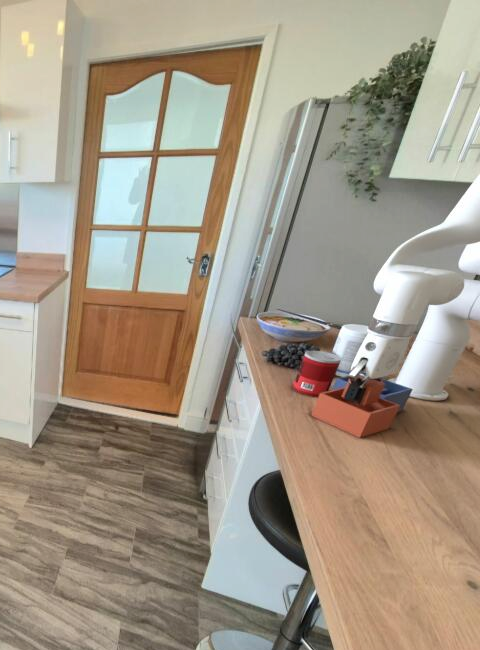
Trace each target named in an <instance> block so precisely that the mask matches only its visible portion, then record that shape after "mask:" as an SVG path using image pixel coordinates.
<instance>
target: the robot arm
mask: <svg viewBox="0 0 480 650" xmlns="http://www.w3.org/2000/svg"><path fill="white" fill-rule="evenodd" d="M464 246H465V247H464ZM458 247H464V249H463V252H462V253H461V255H460V257H459V260H458V265H457V266H458V268H459V270H460V271H461V272H464V273H467V274H472V275H478V276H480V173H479V174H478V175H477V177H476V178H475V179H473V182H472V183H471V184H470V186H469V187H468V188H467V190H466V191H465V192H464V194H463V195H462V197H461V198H460V199H459V200H458V202H457V203H456V204H455V206H454V208H452V210H451V211H450V213H449V214H448V215H447V216H446V218H445V220H444V221H443V222H442V223H440V224H438V225H435V226H433V227H431V228H428V229H426V230H424V231H422V232H420V233H418V234H416V235H415V236H413V237H411V238H409V239H407V240H406V241H405V242H403V243H402V244H400V245H399V246H398V247H397V248H396V249H395V250H394V251H393V252H392V253H391V254H390V256H389V257H388V259H386V261H385V263H384V264H383V265H382V267H381V268H380V269H379V271H378V272H377V274H376V276H375V279H374V281H373V291H375V293H377V294H378V295H380V298H379V301H378V303H377V305H376V307H375V310H374V313H373V314H372V317H371V320H370V322H369V325H368V326H369V327H368V329H367V331H368V332H369V333H368V334H367V336H366V338H365V339H364V341H363V343H362V345H361V347H360V349H359V351H358V353H357V355H356V357H355V359H354V361H353V364H352V367H351V373H350V374H349V378H350V382H349V387H348V389H347V391H346V393H345V396H344V398H345V399H347V400H350V401H352V402H355V403H360V401H361V399H362V397H363V395H364V393H365V390H366V388H364V387H365V386H366V384H367V383H368V381H369V380H370V379H373V380H376V381H379V382H382V383H383V382H384V380H386V377H388V376H391V375H395V374H396V373H398V371H399V373H398V375H397V376H396V377H392V378H389V379H387V380H388V381H390V382H393V383H396V384H399V385H402V386H405V387H408V388H411V389H413V390H412V392H411V394H410V396H409V398H410V397H411V398H414V399H419V400H425V401H434V402H435V401H436V402H438V401H445V400H447V398H448V396H449V392H448V391H447V390H446V389H444V387H445V386H446V384H447V382H448V381H450V376H451V375H452V373H453V371H454V369H455V367H456V365H457V363H458V361H459V360H460V358H461V356H462V354H463V353H464V350H465V349H466V347H467V345H468V344H469V342H470V340H471V333H472V332H471V329H470V326H469V324H468V322H467V321H473V322H478V323H480V280H476V279H469V278H464V277H463V275H462V274H460V273H458V272H457V271H453V270H448V269H441V268H435V267H434V268H432V267H428V266H427V267H426V266H420V265H413V264H409V263H411V262H412V261H413V260H414V261H415V260H416V259H418V258H419V257H421V256H424V255H426V254H429V253H430V254H431V253H432V252H433V253H434V252H438V251H441V250H448V249H453V248H458ZM427 306H428V307H427ZM426 307H427V310H426V315H425V317H424V320H423V321H422V324H421V327H420V329H419V330H418V333H417V335H416V337H415V339H414V341H413V343H412V346H411V348H410V350H409V352H408V354H407V356H406V358H405V360H404V362H403V359H404V357H405V355H406V352H407V349H408V347H409V343H410V340H411V339H412V337H413V334H414V332H415V330H416V328H417V326H418V324H419V322H420V320H421V318H422V316H423V313H424V311H425V309H426ZM402 362H403V364H402ZM401 364H402V365H401ZM401 366H402V367H401ZM400 367H401V368H400ZM399 369H400V370H399ZM362 371H364V372H366V375H365V374H362V373H361V372H362ZM359 376H362V377H365V378H364V380H363V381H362V379H361V378H359Z"/></svg>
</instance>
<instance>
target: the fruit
mask: <svg viewBox="0 0 480 650" xmlns="http://www.w3.org/2000/svg"><path fill="white" fill-rule="evenodd" d="M307 351H321V348H320V347H318V346H315V345H314V344H313V343H306V342H301V343H300V344H298V343H296V344H293V342H292V343H291V342H286V344H280V345H279V347H276V348H274V347H271V348H270V349H269V350H262V352H261V355H262V357H266V358H265V360H266V362H268V363H273V364H278V366H280V367H282V366H286V367H290V368H294V369H295V370H297V371H299V368H300V365H301V363H302V360H303V357H304V355H305V353H306V352H307Z"/></svg>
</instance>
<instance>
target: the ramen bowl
mask: <svg viewBox="0 0 480 650" xmlns="http://www.w3.org/2000/svg"><path fill="white" fill-rule="evenodd" d="M276 310H277V311H264V312H259V313H257V314H256V320H257V322H258V325H259V327H260V328H261V330H262V331H264V333H265V334H267V335H268V336H271V337H272V338H274V339H276V340H278V341H280V342H284V343H292V344H293V343H298V342H308V341H312V340H316V339H318V338H319V337H321V336H323V335H325V334H326V333H327V332H328V331H329V330H331V328H333V329H337V330H341V328H342V326H343V325H338V324H335V323H331V322H328V321H326V320H323V319H321V318H318V317H315V316H311V315H307V314H301V313H295V312H291V311H287V310H284V309H281V308H276Z"/></svg>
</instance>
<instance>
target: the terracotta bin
mask: <svg viewBox="0 0 480 650" xmlns="http://www.w3.org/2000/svg"><path fill="white" fill-rule="evenodd" d="M344 389H345V387H342V388H339V389H335V390H332V389H331V390H328V391H327V392H323V393H320V394H319V397H317V399H316V402H315V405H314V407H313V409H312V411H311V414H310V416H312V417H313V418H315V419H318V420H320V421H323V422H324V423H327V424H328V425H331V426H333V427H335V428H338V429H340V430H342V431H344V432H347V433H348V434H350V435H353V436H355V437H357V438H359V439H360V438H364V437H367V436H370V435H372V434H375V433H379V432H382V431H385V430H388V429H390V427H391V425H392V423H393V422H394V419H395V417H396V415H397V413H398V412H397V411H398V409H399V407H400V405H398V404H395V403H393V402H390V401H388V400H385V399H382V398H380V397H379V399H378V401H377V402H376V403H372V404H369V405H365V406H363V405H361V404H358V403H355V402H352V401H350V400H347V399H345V398H343V397H341V396H342V394H343V392H344Z"/></svg>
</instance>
